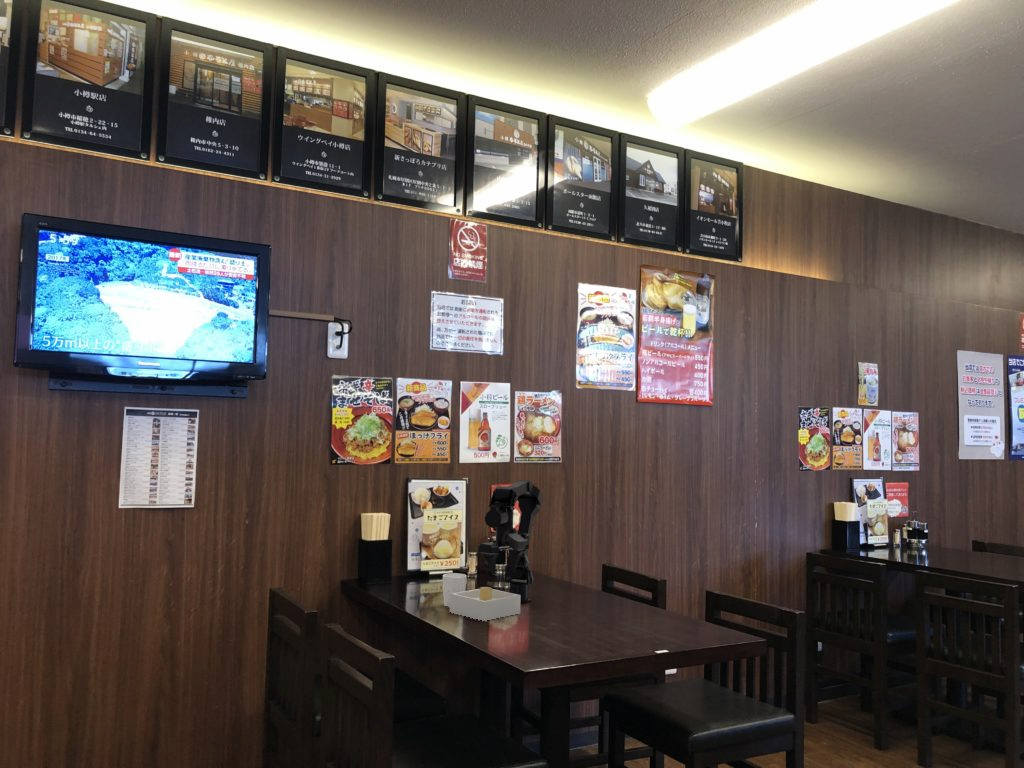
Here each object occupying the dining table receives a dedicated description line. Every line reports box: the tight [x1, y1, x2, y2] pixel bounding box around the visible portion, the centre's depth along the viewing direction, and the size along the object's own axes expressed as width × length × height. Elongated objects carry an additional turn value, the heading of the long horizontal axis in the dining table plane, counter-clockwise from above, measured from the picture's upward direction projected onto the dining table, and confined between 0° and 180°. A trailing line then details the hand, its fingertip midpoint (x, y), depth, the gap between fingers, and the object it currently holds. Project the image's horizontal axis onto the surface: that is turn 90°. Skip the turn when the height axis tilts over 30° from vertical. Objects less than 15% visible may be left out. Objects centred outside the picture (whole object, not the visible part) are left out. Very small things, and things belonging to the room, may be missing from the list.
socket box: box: [449, 588, 521, 622], centre depth 258 cm, size 16×16×6 cm
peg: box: [479, 586, 493, 601], centre depth 258 cm, size 4×4×8 cm
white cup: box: [442, 572, 467, 608], centre depth 268 cm, size 8×8×10 cm
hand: (503, 572), depth 264 cm, fingers open, 9 cm apart
